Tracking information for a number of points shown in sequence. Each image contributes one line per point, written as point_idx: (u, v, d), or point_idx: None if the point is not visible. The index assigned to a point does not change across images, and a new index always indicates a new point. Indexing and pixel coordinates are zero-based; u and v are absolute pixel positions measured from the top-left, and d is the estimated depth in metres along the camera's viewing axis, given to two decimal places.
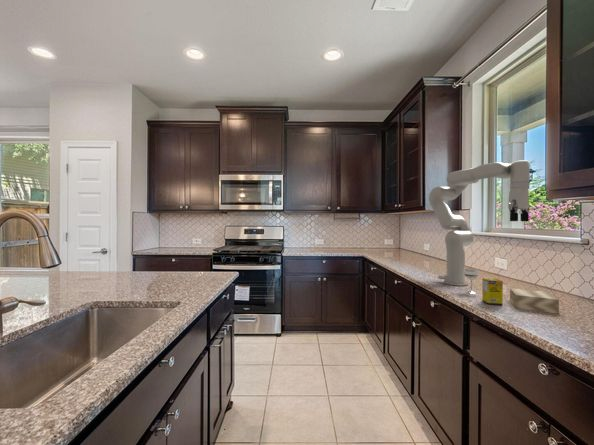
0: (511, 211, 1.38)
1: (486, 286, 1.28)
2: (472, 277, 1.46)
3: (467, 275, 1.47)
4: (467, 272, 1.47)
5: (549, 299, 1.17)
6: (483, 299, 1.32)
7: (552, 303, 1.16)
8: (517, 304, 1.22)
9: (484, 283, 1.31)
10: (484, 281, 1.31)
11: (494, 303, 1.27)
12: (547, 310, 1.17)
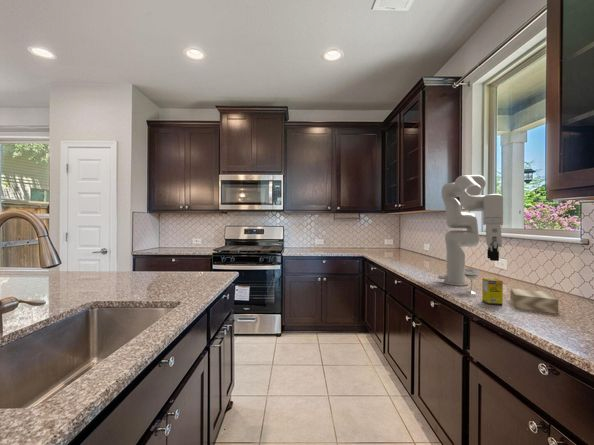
0: None
1: (486, 286, 1.28)
2: (472, 277, 1.46)
3: (467, 275, 1.47)
4: (467, 272, 1.47)
5: (548, 299, 1.17)
6: (483, 299, 1.32)
7: (552, 303, 1.16)
8: (516, 304, 1.22)
9: (484, 283, 1.31)
10: (484, 281, 1.31)
11: (494, 303, 1.27)
12: (546, 310, 1.17)
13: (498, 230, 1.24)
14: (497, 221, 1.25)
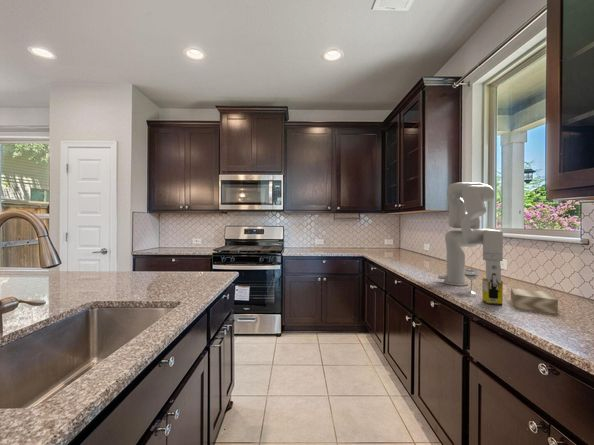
0: None
1: (486, 286, 1.28)
2: (472, 277, 1.46)
3: (467, 275, 1.47)
4: (467, 272, 1.47)
5: (548, 299, 1.17)
6: (483, 299, 1.32)
7: (551, 303, 1.16)
8: (516, 304, 1.23)
9: (484, 283, 1.31)
10: (484, 281, 1.31)
11: (494, 303, 1.27)
12: (546, 310, 1.17)
13: (498, 267, 1.24)
14: (497, 258, 1.26)
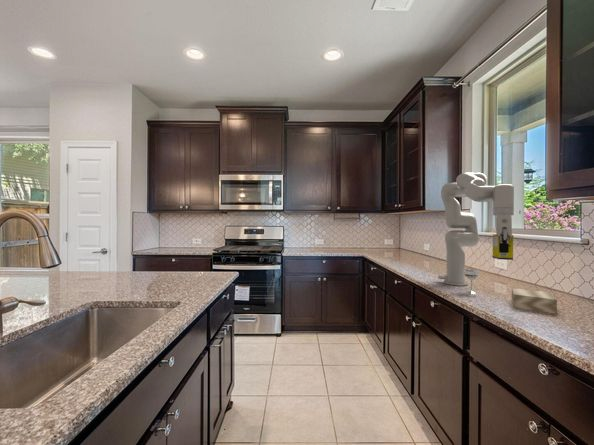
0: None
1: (497, 241, 1.27)
2: (472, 277, 1.46)
3: (467, 275, 1.47)
4: (467, 272, 1.47)
5: (547, 299, 1.17)
6: (493, 255, 1.30)
7: (550, 303, 1.16)
8: (515, 303, 1.23)
9: (494, 239, 1.30)
10: (494, 237, 1.30)
11: (504, 258, 1.25)
12: (545, 310, 1.17)
13: (508, 220, 1.23)
14: (507, 211, 1.24)
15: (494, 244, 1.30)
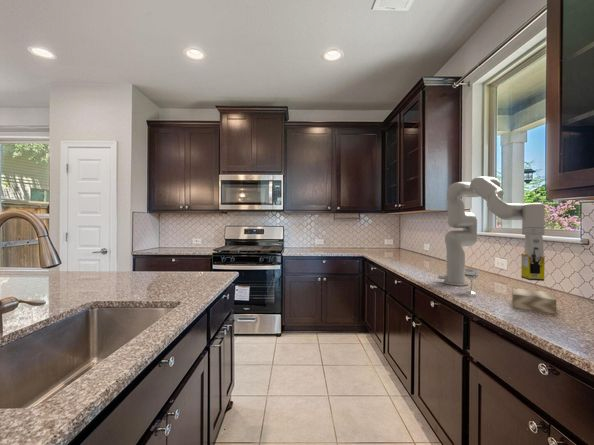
0: None
1: (527, 261, 1.24)
2: (472, 277, 1.46)
3: (467, 275, 1.47)
4: (467, 272, 1.47)
5: (546, 299, 1.17)
6: (522, 275, 1.27)
7: (550, 303, 1.16)
8: (514, 303, 1.23)
9: (524, 259, 1.26)
10: (524, 257, 1.26)
11: (535, 279, 1.22)
12: (544, 310, 1.17)
13: (540, 241, 1.20)
14: (539, 231, 1.21)
15: (523, 264, 1.26)
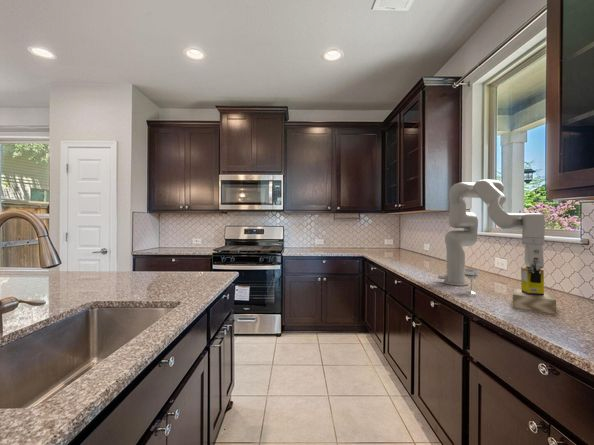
0: None
1: (526, 275, 1.24)
2: (472, 277, 1.46)
3: (467, 275, 1.47)
4: (467, 272, 1.47)
5: (546, 299, 1.17)
6: (522, 289, 1.27)
7: (549, 303, 1.16)
8: (514, 303, 1.23)
9: (523, 273, 1.27)
10: (523, 271, 1.27)
11: (535, 293, 1.22)
12: (544, 310, 1.17)
13: (540, 251, 1.20)
14: (539, 242, 1.21)
15: (523, 278, 1.27)
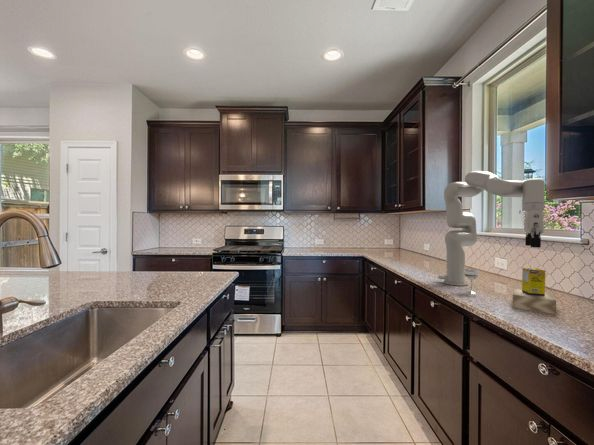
0: None
1: (527, 275, 1.24)
2: (472, 277, 1.46)
3: (467, 275, 1.47)
4: (467, 272, 1.47)
5: (546, 299, 1.17)
6: (523, 289, 1.27)
7: (549, 303, 1.16)
8: (514, 303, 1.23)
9: (524, 273, 1.26)
10: (525, 271, 1.26)
11: (536, 293, 1.22)
12: (544, 310, 1.17)
13: (540, 216, 1.20)
14: (539, 206, 1.21)
15: (524, 278, 1.26)
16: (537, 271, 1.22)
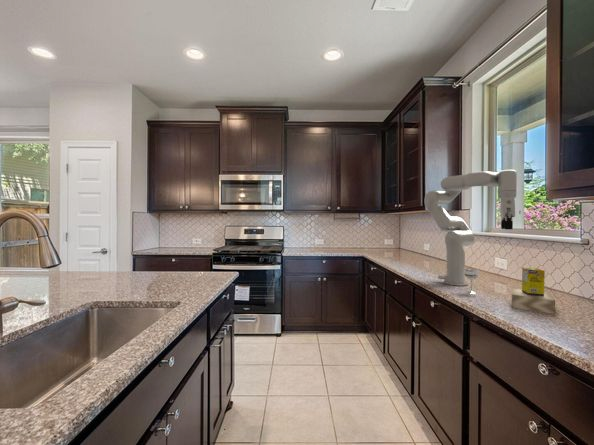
0: None
1: (526, 275, 1.24)
2: (472, 277, 1.46)
3: (467, 275, 1.47)
4: (467, 272, 1.47)
5: (545, 299, 1.17)
6: (523, 289, 1.27)
7: (548, 303, 1.16)
8: (513, 303, 1.23)
9: (524, 273, 1.26)
10: (524, 271, 1.26)
11: (535, 293, 1.22)
12: (543, 310, 1.17)
13: (512, 202, 1.38)
14: (511, 194, 1.39)
15: (524, 278, 1.26)
16: (536, 271, 1.22)
